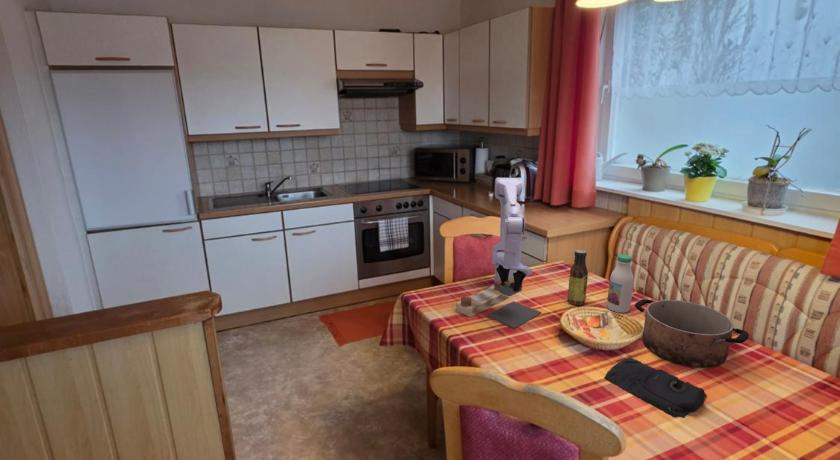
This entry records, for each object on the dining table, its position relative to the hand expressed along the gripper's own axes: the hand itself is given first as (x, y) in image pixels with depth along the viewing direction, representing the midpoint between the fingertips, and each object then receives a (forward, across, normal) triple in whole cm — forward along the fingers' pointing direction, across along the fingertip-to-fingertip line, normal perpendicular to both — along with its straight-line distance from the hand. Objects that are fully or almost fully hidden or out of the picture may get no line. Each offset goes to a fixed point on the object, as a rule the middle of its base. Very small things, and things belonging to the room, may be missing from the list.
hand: (510, 288), depth 156 cm
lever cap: (+1, 0, 0) cm, 1 cm away
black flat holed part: (+10, +51, -7) cm, 53 cm away
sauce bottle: (+10, +12, +25) cm, 29 cm away
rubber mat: (+10, +2, 0) cm, 10 cm away
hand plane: (+10, -11, -1) cm, 15 cm away
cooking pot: (+10, +50, +20) cm, 54 cm away
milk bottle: (+10, +24, +31) cm, 41 cm away
